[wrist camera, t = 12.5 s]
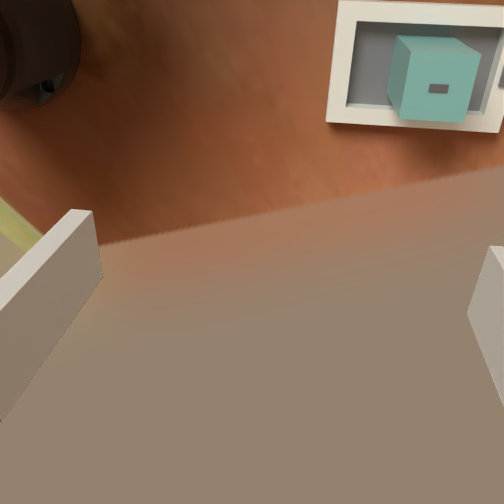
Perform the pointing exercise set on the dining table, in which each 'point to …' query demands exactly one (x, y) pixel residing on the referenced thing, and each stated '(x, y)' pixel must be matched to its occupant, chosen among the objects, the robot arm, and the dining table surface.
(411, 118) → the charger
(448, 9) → the white shallow tray
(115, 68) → the dining table surface
